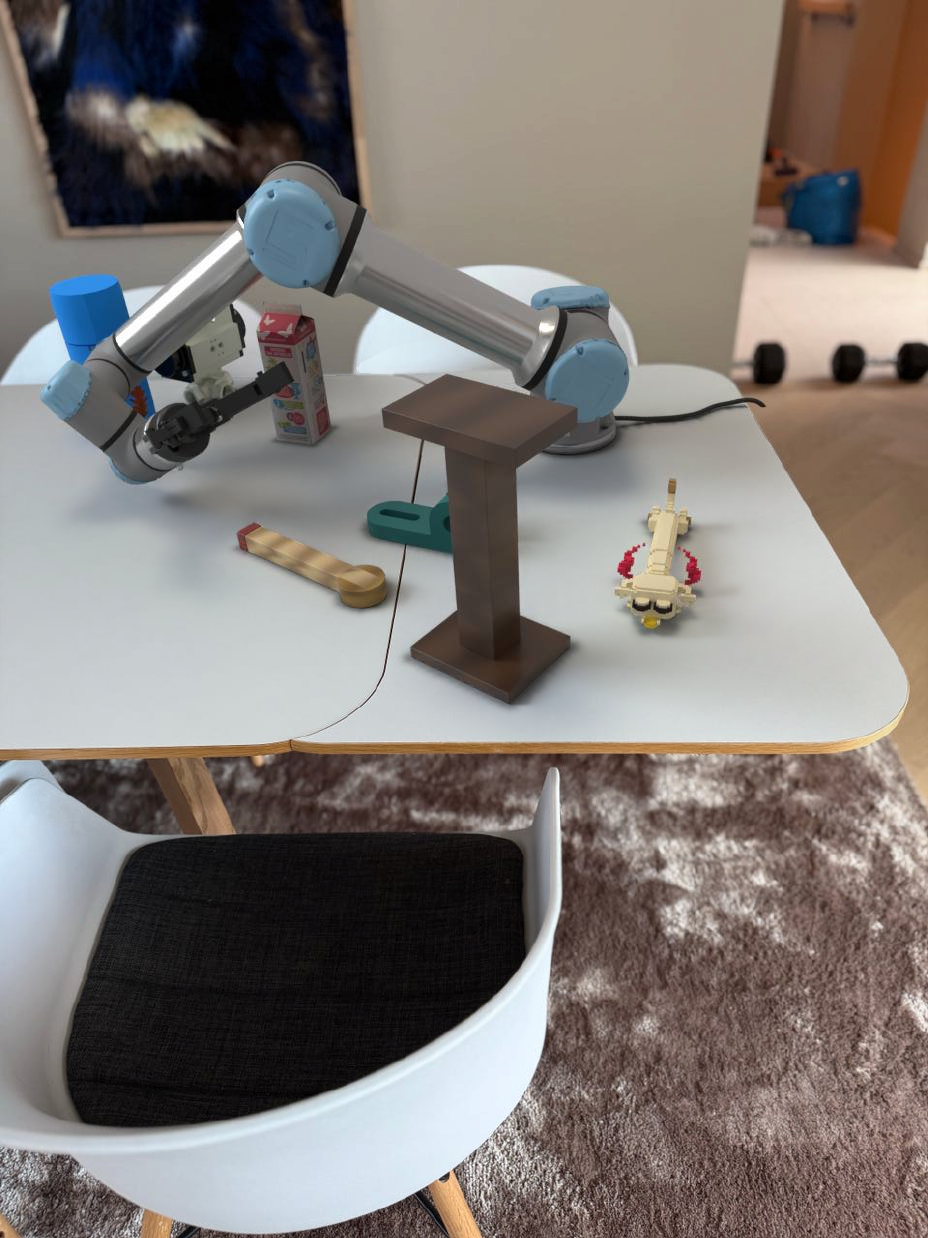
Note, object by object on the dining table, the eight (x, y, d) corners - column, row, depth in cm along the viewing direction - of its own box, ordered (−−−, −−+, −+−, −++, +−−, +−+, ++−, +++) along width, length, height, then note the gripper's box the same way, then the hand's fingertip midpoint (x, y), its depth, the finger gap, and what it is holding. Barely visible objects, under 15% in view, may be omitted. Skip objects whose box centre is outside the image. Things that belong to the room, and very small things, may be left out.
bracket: (497, 532, 125) (495, 482, 120) (477, 558, 120) (474, 506, 116) (382, 511, 132) (376, 462, 127) (359, 534, 127) (352, 484, 122)
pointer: (232, 552, 125) (228, 536, 124) (264, 533, 129) (261, 517, 127) (364, 613, 112) (362, 596, 111) (397, 590, 116) (394, 573, 114)
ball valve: (196, 424, 159) (170, 324, 148) (161, 416, 163) (134, 317, 152) (264, 386, 171) (244, 290, 160) (230, 379, 175) (209, 285, 164)
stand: (404, 653, 105) (373, 412, 87) (468, 602, 113) (452, 369, 95) (516, 708, 97) (508, 453, 79) (578, 649, 104) (583, 403, 86)
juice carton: (297, 423, 157) (273, 294, 144) (331, 427, 155) (310, 297, 142) (277, 440, 152) (251, 308, 139) (312, 445, 150) (289, 311, 137)
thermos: (172, 423, 160) (133, 278, 145) (125, 449, 153) (78, 299, 138) (130, 412, 165) (88, 270, 150) (83, 436, 158) (33, 290, 143)
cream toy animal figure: (631, 529, 126) (606, 625, 106) (635, 470, 121) (609, 559, 101) (705, 536, 124) (693, 636, 104) (712, 476, 119) (701, 569, 99)
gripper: (256, 427, 134) (333, 383, 118) (111, 499, 119) (177, 461, 103) (229, 379, 132) (305, 329, 116) (79, 447, 117) (141, 399, 101)
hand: (245, 391), depth 109 cm, fingers open, 13 cm apart
